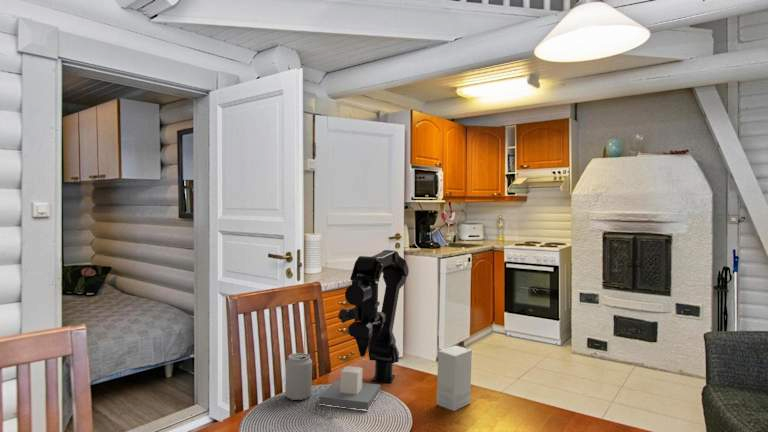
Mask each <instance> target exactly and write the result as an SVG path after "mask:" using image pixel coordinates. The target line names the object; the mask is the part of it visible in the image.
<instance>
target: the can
mask: <svg viewBox="0 0 768 432" xmlns="http://www.w3.org/2000/svg"><path fill="white" fill-rule="evenodd" d="M310 357H311V355H310V354H308V353H305V352H296V353H290V354H289V355H288V358H287V359H286V361H285V379H284V380H285V385H284V386H285V387H284V391H285V392H284V396H285V397H286V398H287V399H288V398H289V399H291V400H290V401H293V400H302V399H305V400H307V399H309V397H310V396H311V395H312V390H313V389H312V386H313V385H312V384H313V383H312V382H313V379H312V378H313V359H311V358H310ZM306 398H307V399H306ZM289 399H288V400H289ZM302 401H303V400H302Z"/></svg>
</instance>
